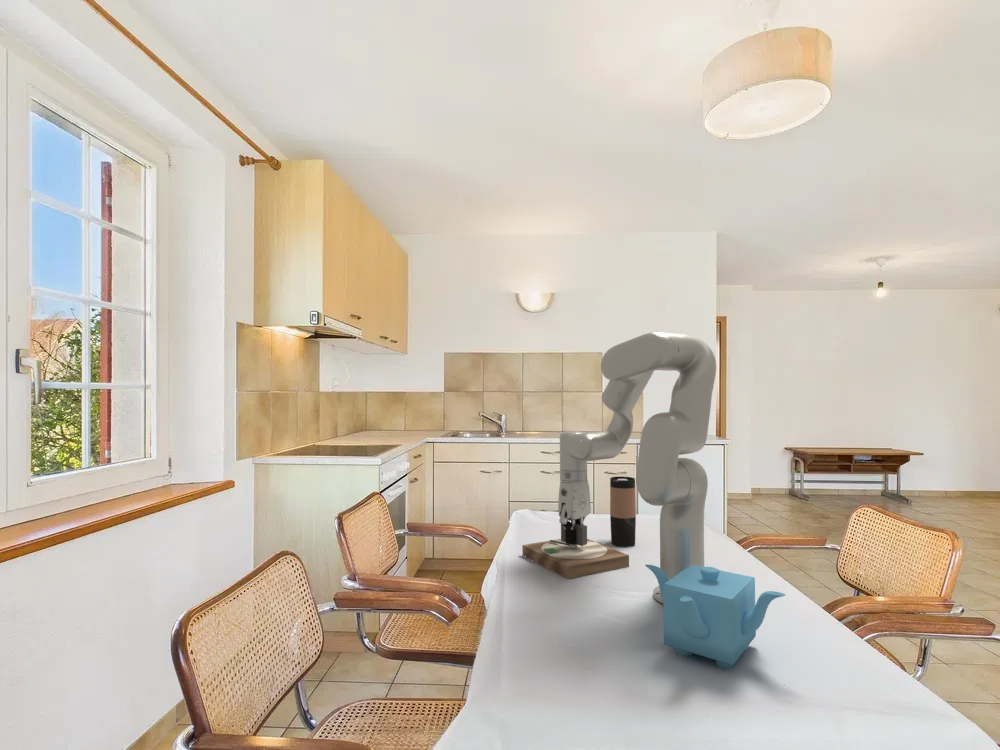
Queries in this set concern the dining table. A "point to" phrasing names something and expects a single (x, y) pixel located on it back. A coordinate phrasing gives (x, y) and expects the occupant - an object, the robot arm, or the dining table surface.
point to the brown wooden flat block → (575, 558)
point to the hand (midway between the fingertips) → (573, 542)
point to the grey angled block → (580, 536)
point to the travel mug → (622, 511)
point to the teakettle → (711, 612)
